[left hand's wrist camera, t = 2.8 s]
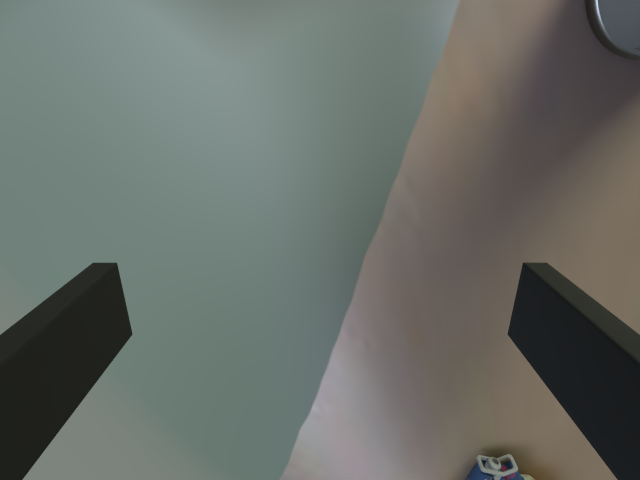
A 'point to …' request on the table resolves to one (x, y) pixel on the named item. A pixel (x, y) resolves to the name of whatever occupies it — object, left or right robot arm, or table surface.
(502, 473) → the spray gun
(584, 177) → the table surface
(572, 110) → the table surface
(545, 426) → the table surface
